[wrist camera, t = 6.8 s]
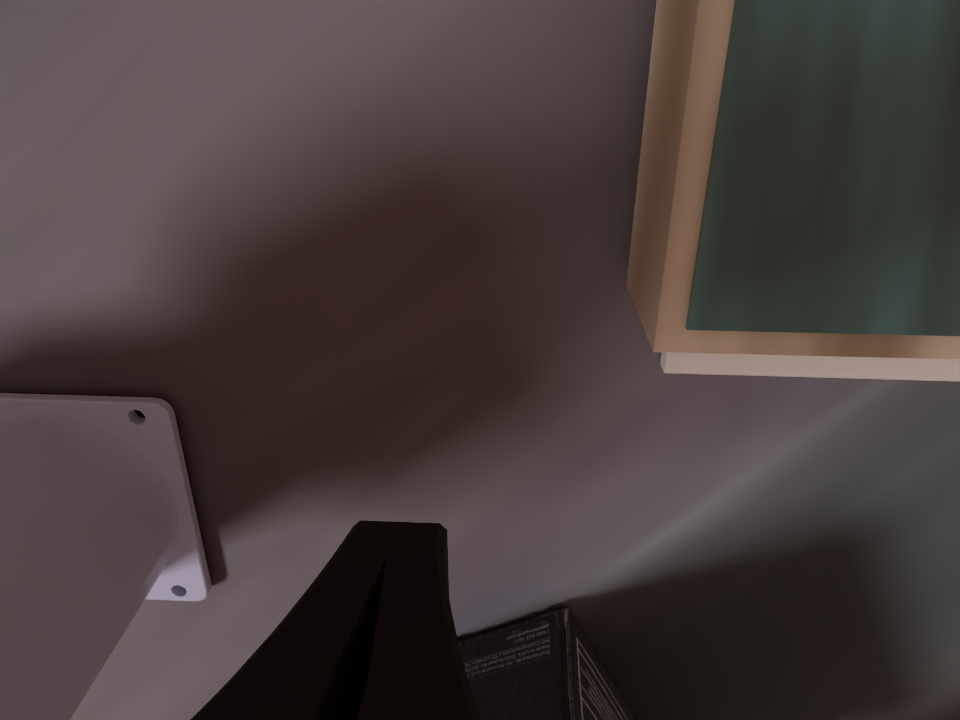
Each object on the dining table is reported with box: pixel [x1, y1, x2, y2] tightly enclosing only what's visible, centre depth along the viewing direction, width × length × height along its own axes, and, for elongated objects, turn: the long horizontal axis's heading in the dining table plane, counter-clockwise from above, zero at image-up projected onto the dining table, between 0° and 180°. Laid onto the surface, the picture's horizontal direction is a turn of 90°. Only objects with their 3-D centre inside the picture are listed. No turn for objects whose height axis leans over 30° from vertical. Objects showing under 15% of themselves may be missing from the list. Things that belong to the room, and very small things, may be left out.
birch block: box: [626, 0, 960, 359], centre depth 15 cm, size 4×8×10 cm
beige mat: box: [660, 352, 960, 381], centre depth 17 cm, size 11×13×1 cm
